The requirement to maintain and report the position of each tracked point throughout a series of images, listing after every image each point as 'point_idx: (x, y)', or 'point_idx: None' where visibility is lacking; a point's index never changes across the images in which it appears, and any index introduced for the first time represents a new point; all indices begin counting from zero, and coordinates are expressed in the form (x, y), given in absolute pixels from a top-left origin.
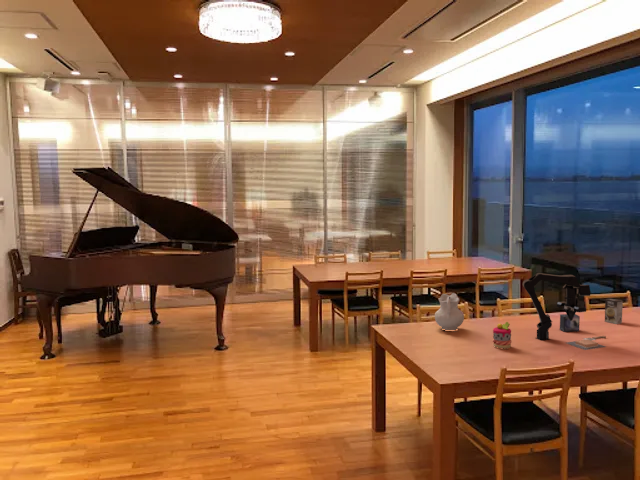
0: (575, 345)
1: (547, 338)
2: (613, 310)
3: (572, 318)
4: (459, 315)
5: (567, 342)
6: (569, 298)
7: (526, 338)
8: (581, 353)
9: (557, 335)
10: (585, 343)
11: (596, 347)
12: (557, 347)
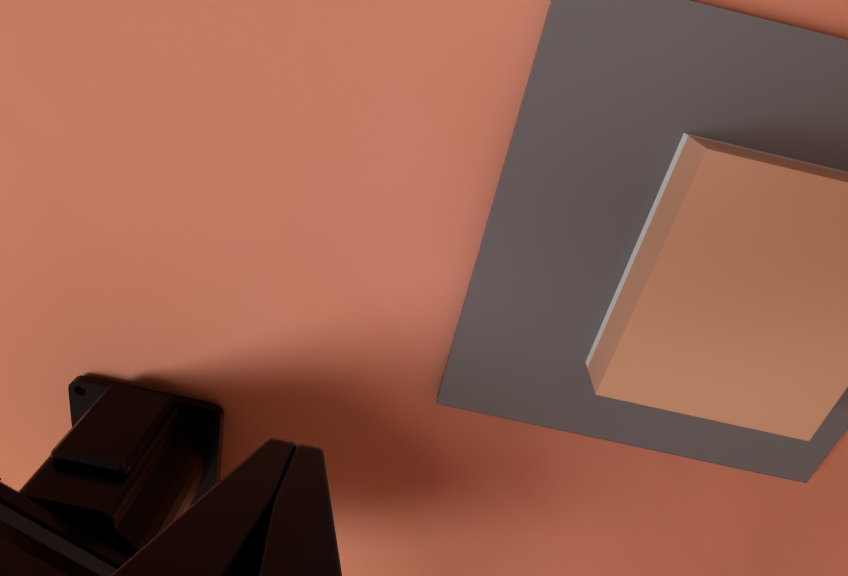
0: (615, 406)
1: (182, 426)
2: None
3: (326, 530)
4: None
5: (455, 367)
6: None
7: None
8: (802, 565)
9: (34, 90)
10: (781, 398)
11: None
12: (487, 559)
